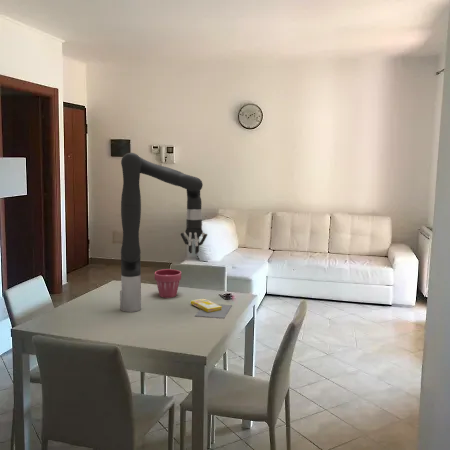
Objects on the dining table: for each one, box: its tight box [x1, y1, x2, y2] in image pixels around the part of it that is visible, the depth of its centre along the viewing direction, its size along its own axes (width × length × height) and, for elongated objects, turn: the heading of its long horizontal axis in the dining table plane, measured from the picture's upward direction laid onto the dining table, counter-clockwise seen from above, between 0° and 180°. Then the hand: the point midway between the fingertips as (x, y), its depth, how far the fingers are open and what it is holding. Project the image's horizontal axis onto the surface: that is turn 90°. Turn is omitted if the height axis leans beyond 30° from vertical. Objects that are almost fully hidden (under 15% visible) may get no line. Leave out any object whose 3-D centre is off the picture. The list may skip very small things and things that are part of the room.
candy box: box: [190, 298, 222, 312], centre depth 249 cm, size 16×2×8 cm
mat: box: [194, 303, 233, 319], centre depth 245 cm, size 14×20×1 cm
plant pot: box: [154, 268, 182, 299], centre depth 269 cm, size 14×14×13 cm
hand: (193, 253), depth 248 cm, fingers closed
